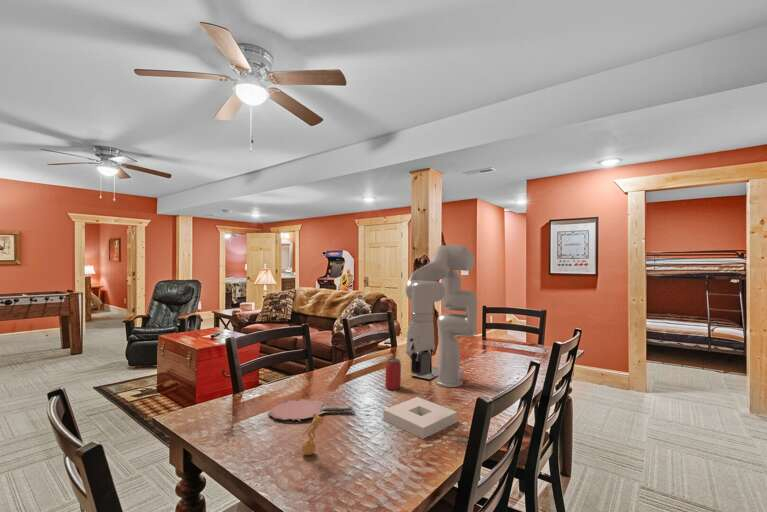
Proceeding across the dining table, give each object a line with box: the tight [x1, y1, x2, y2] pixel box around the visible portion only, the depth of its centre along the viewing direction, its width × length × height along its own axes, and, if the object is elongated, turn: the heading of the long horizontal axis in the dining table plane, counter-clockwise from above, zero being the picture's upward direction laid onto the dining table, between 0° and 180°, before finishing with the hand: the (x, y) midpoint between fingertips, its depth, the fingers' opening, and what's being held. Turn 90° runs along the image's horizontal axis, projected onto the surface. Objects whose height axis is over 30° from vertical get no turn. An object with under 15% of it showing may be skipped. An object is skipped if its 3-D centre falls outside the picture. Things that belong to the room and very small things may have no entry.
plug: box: [410, 351, 431, 378], centre depth 126 cm, size 5×5×8 cm
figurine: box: [301, 413, 325, 456], centre depth 103 cm, size 8×6×12 cm
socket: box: [382, 396, 458, 440], centre depth 126 cm, size 18×18×4 cm
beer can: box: [384, 358, 402, 391], centre depth 158 cm, size 7×7×12 cm
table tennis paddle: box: [268, 398, 354, 424], centre depth 129 cm, size 18×29×3 cm, turn 74°
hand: (420, 369), depth 126 cm, fingers closed on plug, 4 cm apart
